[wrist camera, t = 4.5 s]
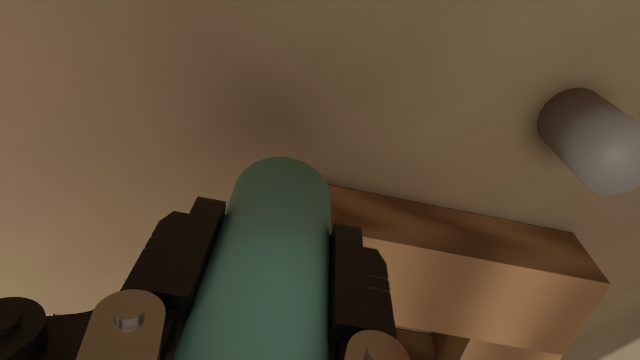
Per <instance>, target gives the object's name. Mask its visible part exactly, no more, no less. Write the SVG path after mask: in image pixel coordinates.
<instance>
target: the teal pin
mask: <svg viewBox="0 0 640 360" xmlns="http://www.w3.org/2000/svg"><path fill="white" fill-rule="evenodd" d="M330 233H331V194H330V190H329V187H328V185H327V183H326V181H325V180H324V178H323V177H322V176H321V175H320V174H319V173H318V172H317V171H316V170H315V169H314V168H312V167H311V166H309V165H308V164H306V163H304V162H301V161H299V160H296V159H292V158H286V157H273V158H267V159H263V160H261V161H258V162H256V163H254V164H252V165H251V166H249V167H248V168H247V169H246V170H245V171H243V173H242V174H241V175H240V176H239V178H238V180H237V182H236V185H235V187H234V190H233V193H232V195H231V198H230V201H229V204H228V206H227V209H226V212H225V216H224V219H223V221H222V224H221V227H220V230H219V232H218V235H217V238H216V241H215V243H214V246H213V249H212V252H211V255H210V257H209V260H208V263H207V266H206V268H205V271H204V274H203V277H202V279H201V282H200V285H199V288H198V290H197V293H196V296H195V299H194V302H193V304H192V307H191V310H190V313H189V315H188V318H187V321H186V323H185V325H184V328H183V330H182V333H181V336H180V339H179V341H178V344H177V347H176V350H175V352H174V355H173V358H172V360H328V334H329V279H330Z"/></svg>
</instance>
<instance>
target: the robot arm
mask: <svg viewBox="0 0 640 360" xmlns="http://www.w3.org/2000/svg"><path fill="white" fill-rule="evenodd" d="M225 209H226V202H225V201H220V200H215V199H209V198H204V197H199V196H198V197H197V199H196V201H195V203H194V205H193V207H192V209H191V211H190V213H189V214H187V213H181V212H176V211H173V212H172V213H170V214H169V215H168V216H166V217H165V218H163V219H162V220H160V221H159V223H158V224H157V226H156V228H155V230H154V232H153V233H152V236H151V237H150V239H149V240H148V242H147V244H146V246H145V249H143V251H142V253H141V255H140V256H139V258H138V260H137V262H136V263H135V265H134V267H133V269H132V271H131V272H130V274H129V276H128V278H127V279H126V281H125V283H124V285H123V287H122V288H121V290H120V291H119V292H116V293H113V294H111V295H109V296H107V297H105V298H104V299H103V300H101V301H100V302H99V303H98V304H97V306H96V307H95V308H94V310H91V311H88V312H84V313H77V314H67V315H55V316H46V314H45V311H44V309H43V308H42V306H41V305H40V304H38V303H37V302H35V301H33V300H31V299H28V298H22V297H7V298H1V299H0V360H172V358H173V355H174V352H175V350H176V347H177V344H178V341H179V339H180V336H181V333H182V330H183V328H184V325H185V323H186V321H187V318H188V315H189V313H190V310H191V307H192V304H193V302H194V299H195V296H196V293H197V290H198V288H199V285H200V282H201V279H202V277H203V274H204V271H205V268H206V266H207V263H208V260H209V257H210V255H211V252H212V249H213V246H214V243H215V241H216V238H217V235H218V232H219V230H220V227H221V224H222V221H223V219H224V216H225ZM328 360H410V357H409V355H408V353H407V351H406V349H405V348H404V347H403V345H402V344H401V343H400V342H399V341H398V340H397V335H396V328H395V321H394V314H393V307H392V300H391V293H390V286H389V281H388V271H387V264H386V262H385V260H384V259H383V257H382V256H381V254H380V253H379V251H378V250H377V249H373V248H368V247H363V238H362V229H361V227H356V226H351V225H346V224H340V223H334V225H333V228H332V231H331V235H330V279H329V334H328Z"/></svg>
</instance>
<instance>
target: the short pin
mask: <svg viewBox="0 0 640 360" xmlns="http://www.w3.org/2000/svg"><path fill="white" fill-rule="evenodd" d="M538 131H539V134H540V136H541V138H542V139H543V140H544V141H545V142H546V143H547V144H548V146H549V147H550V148H551V149H552V150H553V151H554V152H555V153H556V154H557V155H558V157H559V158H560V159H561V160H562V161H563V162H564V163H565V164H566V165H567V166H568V168H569V169H570V170H571V171H572V172H573V173H574V174H575V175H576V176H577V177H578V179H579V180H580V181H581V182H582V183H583V184H584V185H585V186H586V187H587V188H588V189H589V190H591V191H592V192H594V193H597V194H600V195H608V196H612V195H620V194H624V193H627V192H630V191H632V190H634V189H636V188H638V187H640V123H639V122H637V121H636V120H635V119H633V118H632V117H630V116H629V115H627V114H626V113H624V112H623V111H621V110H620V109H618V108H617V107H616V106H614V105H613V104H611V103H610V102H608V101H607V100H605V99H604V98H602V97H601V96H599V95H598V94H597V93H595V92H594V91H591V90H589V89H585V88H573V89H568V90H565V91H563V92H561V93H559V94H557V95H555V96H554V97H553V98H551V99H550V100H549V101H548V102H547V103H546V105H545V106H544V107H543V109H542V111H541V113H540V115H539V118H538Z"/></svg>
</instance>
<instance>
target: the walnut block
mask: <svg viewBox="0 0 640 360" xmlns="http://www.w3.org/2000/svg"><path fill="white" fill-rule="evenodd" d="M328 187H329V190H330V194H331V231H332V228H333V225H334V223H340V224H346V225H351V226H356V227H361V229H362V238H363V247H368V248H373V249H377V250H378V251H379V253H380V254H381V256H382V257H383V259H384V260H385V262H386V264H387V271H388V281H389V286H390V293H391V300H392V307H393V314H394V321H395V325H397V326H402V327H408V328H413V329H419V330H425V331H430V332H433V333H432V335H429V334H423V333H418V332H412V331H407V330H401V329H396V335H397V340H398V341H399V342H400V343H401V344H402V345H403V347H404V348H405V349H406V351H407V353H408V355H409V357H410V360H560V359H561V357H562V356H563V354H564V353H565V351H566V350H567V348H568V347H569V345H570V344H571V342H572V341H573V339H574V338H575V336H576V335H577V333H578V332H579V330H580V329H581V327H582V326H583V324H584V323H585V321H586V320H587V318H588V317H589V315H590V314H591V312H592V311H593V309H594V308H595V306H596V305H597V303H598V302H599V300H600V299H601V297H602V296H603V294H604V293H605V291H606V290H607V288H608V287H609V285H610V283H609V281H608V280H607V279H606V277H605V276H604V275H603V273H602V272H601V270H600V269H599V268H598V266H597V265H596V264H595V262H594V261H593V260H592V258H591V257H590V256H589V254H588V253H587V251H586V250H585V249H584V247H583V246H582V245H581V243H580V242H579V241H578V239H577V238H576V236H575V235H574V234H573V233H570V232H565V231H559V230H554V229H549V228H544V227H539V226H534V225H529V224H524V223H519V222H514V221H509V220H504V219H499V218H493V217H488V216H483V215H478V214H473V213H468V212H463V211H458V210H453V209H448V208H443V207H438V206H433V205H427V204H422V203H417V202H412V201H407V200H402V199H397V198H392V197H387V196H382V195H377V194H372V193H367V192H361V191H356V190H351V189H346V188H341V187H336V186H331V185H328ZM330 235H331V233H330Z"/></svg>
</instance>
